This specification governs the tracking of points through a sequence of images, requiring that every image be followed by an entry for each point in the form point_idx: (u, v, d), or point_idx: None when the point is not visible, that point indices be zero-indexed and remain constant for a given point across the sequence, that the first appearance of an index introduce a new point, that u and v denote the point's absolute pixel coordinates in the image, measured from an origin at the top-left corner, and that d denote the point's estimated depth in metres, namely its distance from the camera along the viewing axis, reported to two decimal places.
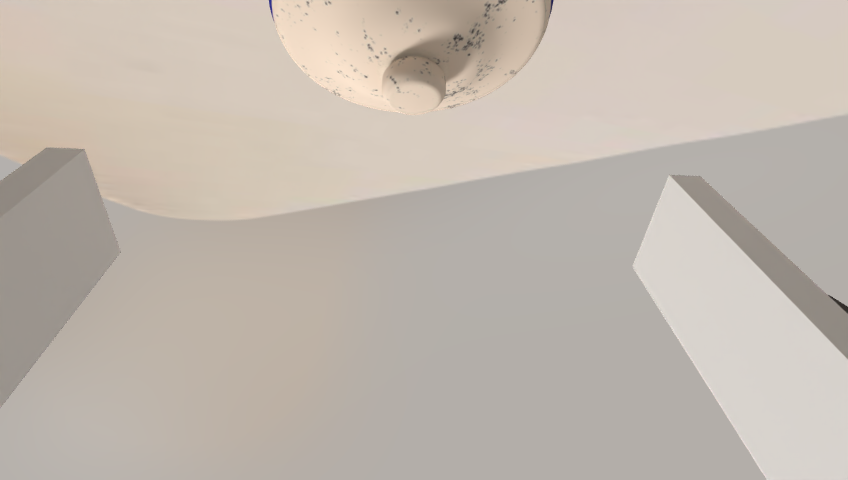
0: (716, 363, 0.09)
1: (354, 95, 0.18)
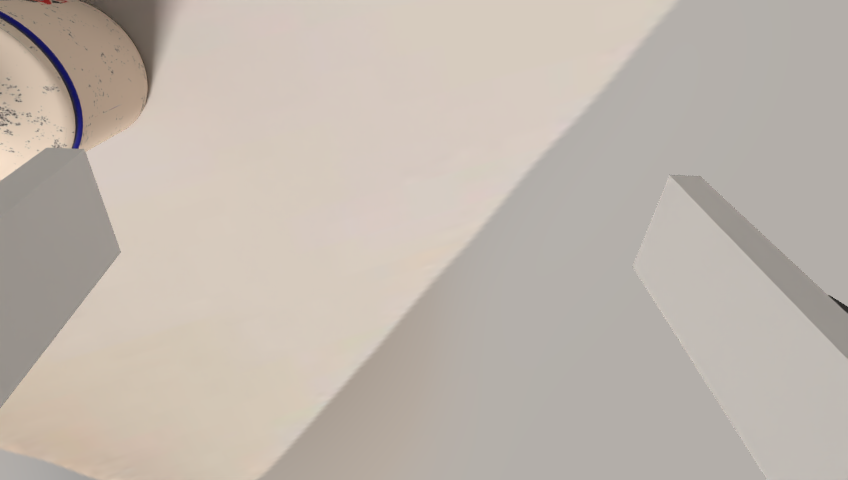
0: (716, 363, 0.09)
1: None
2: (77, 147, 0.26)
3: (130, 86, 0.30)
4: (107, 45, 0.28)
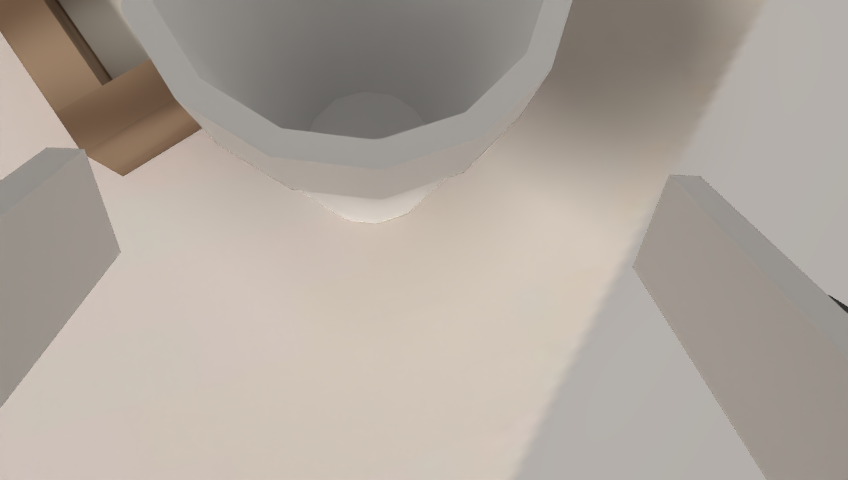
0: (716, 363, 0.09)
1: None
2: None
3: None
4: None
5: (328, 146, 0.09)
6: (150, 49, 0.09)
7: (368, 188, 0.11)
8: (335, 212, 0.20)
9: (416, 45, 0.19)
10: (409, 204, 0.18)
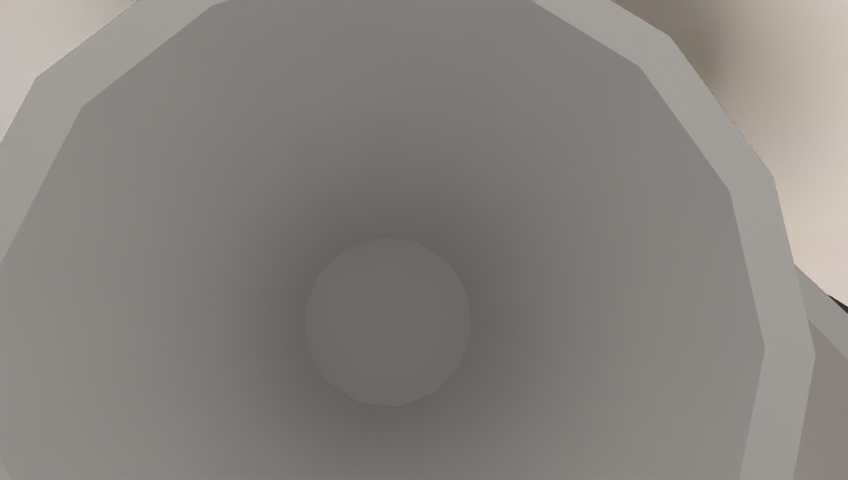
0: None
1: None
2: None
3: None
4: None
5: None
6: None
7: None
8: None
9: (457, 218, 0.14)
10: None
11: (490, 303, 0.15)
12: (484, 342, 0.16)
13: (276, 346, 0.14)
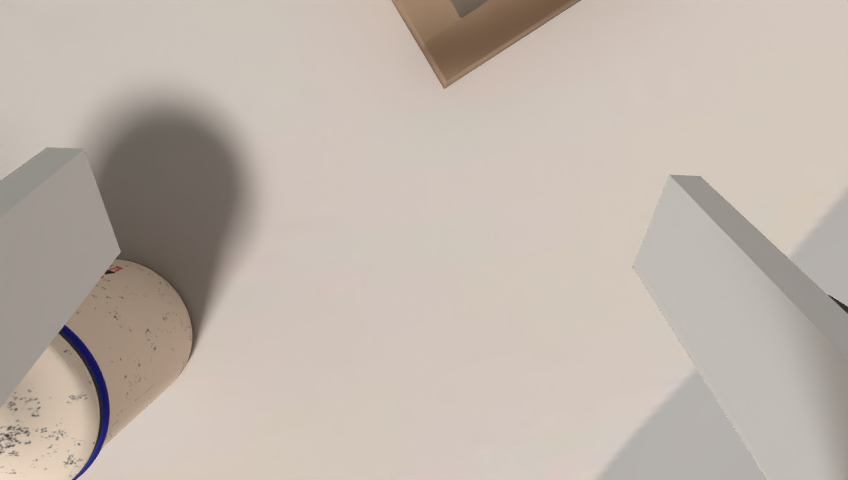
0: (717, 363, 0.09)
1: None
2: (95, 457, 0.21)
3: (173, 355, 0.26)
4: (155, 316, 0.25)
5: None
6: None
7: None
8: None
9: None
10: None
11: None
12: None
13: None
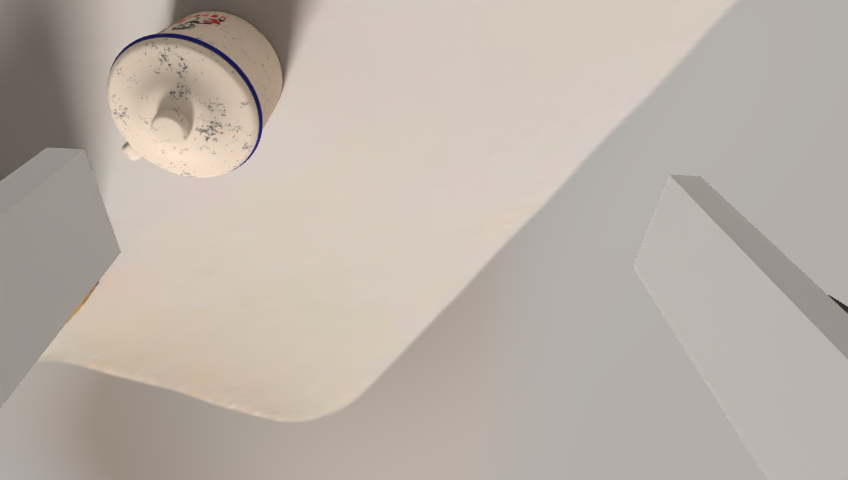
0: (716, 363, 0.10)
1: (192, 168, 0.32)
2: (256, 146, 0.32)
3: (276, 87, 0.36)
4: (262, 55, 0.34)
5: None
6: None
7: None
8: None
9: None
10: None
11: None
12: None
13: None
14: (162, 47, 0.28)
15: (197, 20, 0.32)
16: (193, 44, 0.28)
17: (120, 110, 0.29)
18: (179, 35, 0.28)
